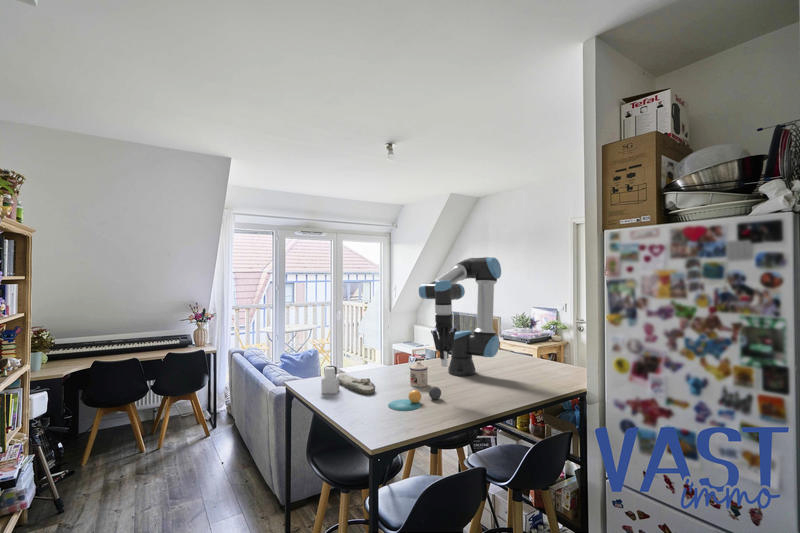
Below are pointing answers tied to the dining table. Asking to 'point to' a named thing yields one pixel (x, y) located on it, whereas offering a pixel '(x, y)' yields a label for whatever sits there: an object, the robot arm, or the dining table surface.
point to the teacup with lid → (418, 375)
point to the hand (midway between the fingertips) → (444, 366)
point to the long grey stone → (357, 384)
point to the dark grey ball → (435, 393)
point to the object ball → (414, 396)
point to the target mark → (404, 405)
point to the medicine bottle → (330, 380)
